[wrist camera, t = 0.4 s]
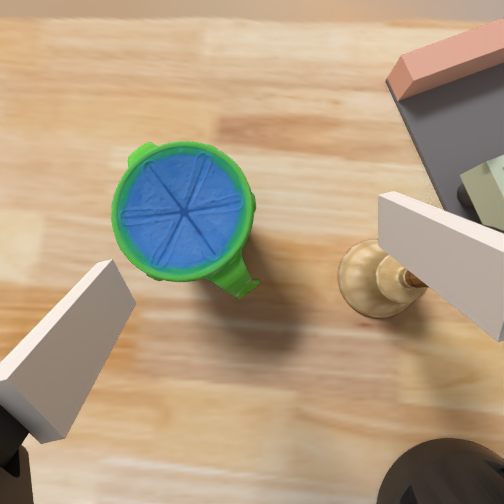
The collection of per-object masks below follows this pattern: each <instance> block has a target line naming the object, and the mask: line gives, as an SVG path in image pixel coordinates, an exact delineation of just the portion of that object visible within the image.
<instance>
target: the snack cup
mask: <svg viewBox="0 0 504 504" xmlns="http://www.w3.org/2000/svg"><path fill="white" fill-rule="evenodd" d="M128 166H129V168H128V170H127V171H126V172H125V173H124V175H123V176H122V178H121V180H120V182H119V184H118V186H117V188H116V191H115V194H114V197H113V201H112V214H111V220H112V227H113V231H114V235H115V238H116V240H117V243H118V245H119V247H120V249H121V251H122V252H123V253H124V255H125V256H126V257H127V258H128V260H129V261H130V262H131V263H133V264H134V265H135V266H136V267H137V268H139V269H140V270H141V271H143V272H145V273H146V274H147V276H149V277H151V278H153V279H154V280H157V281H162V280H166V281H172V282H190V281H196V280H200V279H207V280H209V281H211V282H213V283H214V284H216V285H217V286H219V287H220V288H222V289H223V290H225V291H226V292H228V293H229V294H231V295H232V296H234V297H235V298H236V299H241V298H242V297H244V296H245V295H246V294H247V293H249V292H250V291H251V290H253V289H254V288H256V287H257V286H258V285H259V283H260V279H254V280H252V279H251V277H250V275H249V273H248V271H247V268H246V265H245V263H244V260H243V257H242V250H243V248H244V246H245V244H246V242H247V240H248V237H249V235H250V232H251V228H252V224H253V217H254V212H255V210H256V202H255V196H254V194H253V193H252V192H251V189H250V186H249V184H248V182H247V180H246V177H245V175H244V174H243V172H242V170H241V169H240V168H239V166H238V165H237V164H236V163H235V162H234V161H233V160H232V159H231V158H230V157H228V156H227V155H226V154H224V153H223V152H221V151H220V150H218V149H217V148H215V147H214V146H211V145H206V144H202V143H198V142H188V141H180V142H173V143H168V144H164V145H161V146H156V145H155V144H153V143H151V142H148V143H146V144H144V145H142V146H141V147H139V148H138V149H137V150H135V151H134V152H133V153H132V154H131V155H130V156H129V157H128Z"/></svg>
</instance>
